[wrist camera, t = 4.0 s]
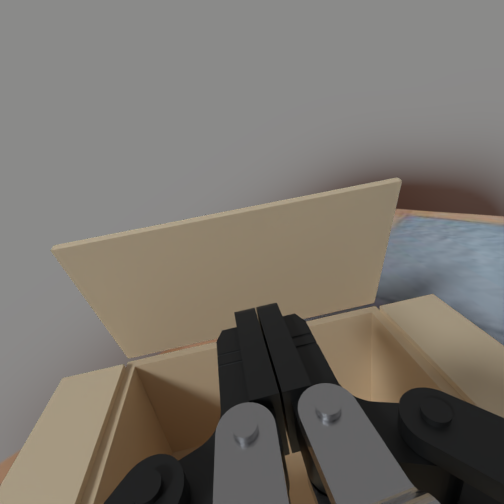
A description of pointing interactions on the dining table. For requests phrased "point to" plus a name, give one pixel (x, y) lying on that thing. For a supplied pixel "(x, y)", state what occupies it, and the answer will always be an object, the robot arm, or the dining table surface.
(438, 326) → the carton
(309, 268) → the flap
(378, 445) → the robot arm
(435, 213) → the dining table surface
